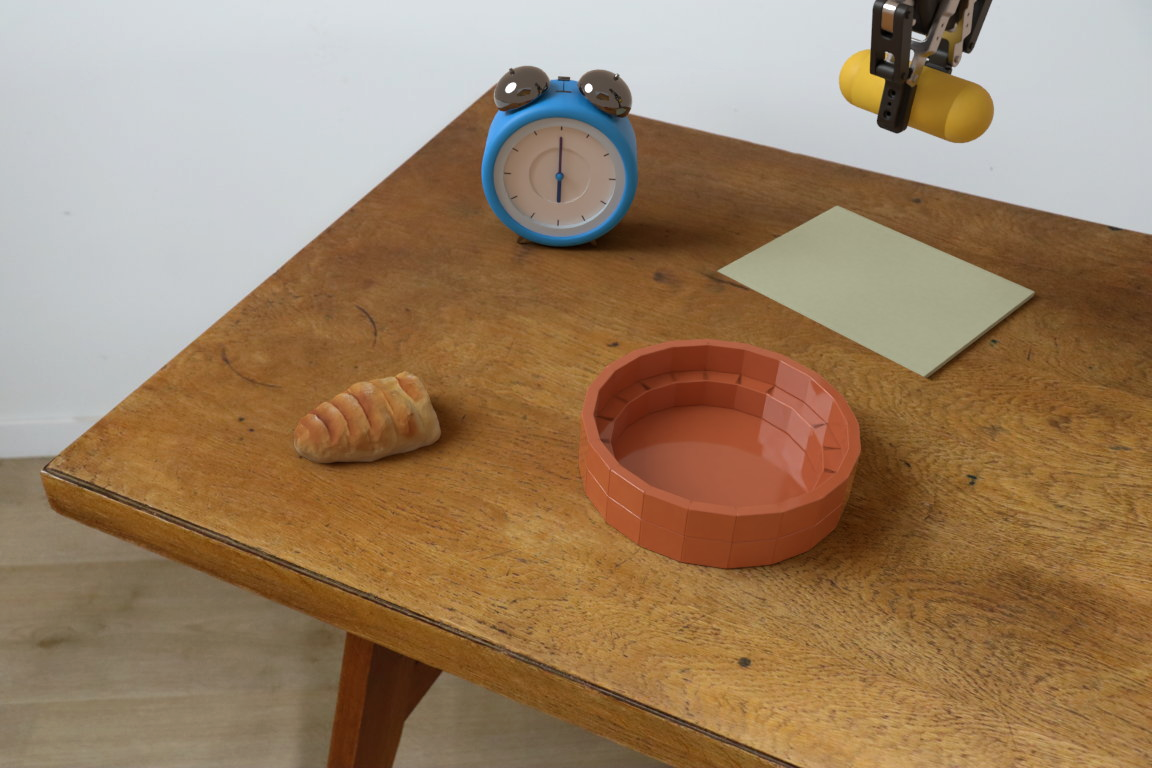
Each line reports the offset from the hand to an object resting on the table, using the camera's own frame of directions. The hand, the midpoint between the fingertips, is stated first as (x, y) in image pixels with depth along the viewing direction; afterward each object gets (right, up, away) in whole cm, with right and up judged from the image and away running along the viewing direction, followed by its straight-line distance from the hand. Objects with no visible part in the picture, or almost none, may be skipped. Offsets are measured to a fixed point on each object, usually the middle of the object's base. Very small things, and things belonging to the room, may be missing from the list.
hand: (908, 119), depth 84 cm
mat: (-1, -12, +9) cm, 15 cm away
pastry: (-39, -24, -8) cm, 46 cm away
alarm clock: (-27, -7, +15) cm, 31 cm away
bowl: (-16, -26, -10) cm, 32 cm away
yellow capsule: (0, 0, 0) cm, 0 cm away
